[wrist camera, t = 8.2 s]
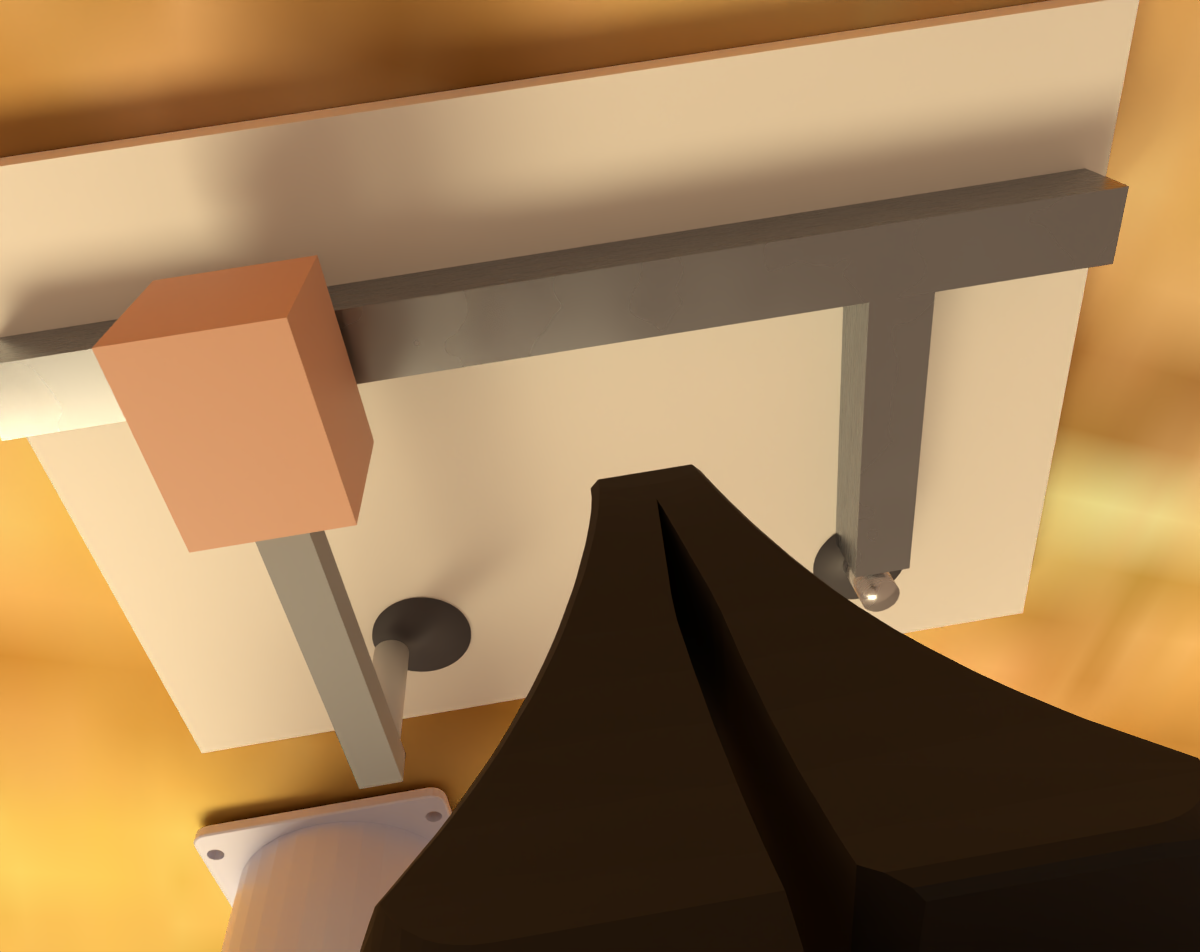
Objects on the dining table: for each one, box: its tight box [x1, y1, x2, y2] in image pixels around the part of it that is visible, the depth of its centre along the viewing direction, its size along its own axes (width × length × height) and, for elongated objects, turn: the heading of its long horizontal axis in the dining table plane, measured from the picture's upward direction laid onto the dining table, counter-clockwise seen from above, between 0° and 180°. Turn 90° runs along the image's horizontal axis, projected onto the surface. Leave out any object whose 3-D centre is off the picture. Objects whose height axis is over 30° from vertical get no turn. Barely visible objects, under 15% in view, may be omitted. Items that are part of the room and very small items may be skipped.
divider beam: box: [0, 168, 1129, 612], centre depth 21 cm, size 10×23×2 cm, turn 97°
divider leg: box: [92, 255, 409, 789], centre depth 18 cm, size 12×3×4 cm, turn 7°
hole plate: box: [0, 0, 1139, 753], centre depth 21 cm, size 16×24×1 cm, turn 97°
